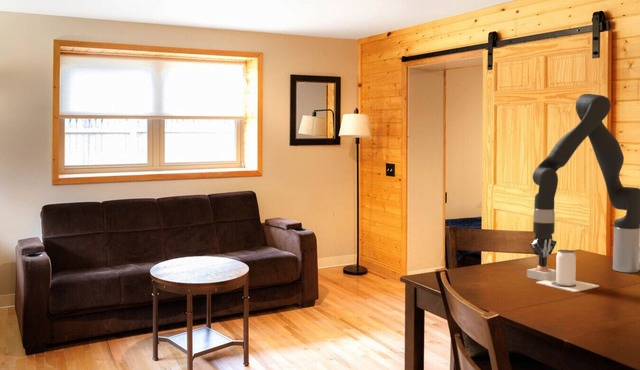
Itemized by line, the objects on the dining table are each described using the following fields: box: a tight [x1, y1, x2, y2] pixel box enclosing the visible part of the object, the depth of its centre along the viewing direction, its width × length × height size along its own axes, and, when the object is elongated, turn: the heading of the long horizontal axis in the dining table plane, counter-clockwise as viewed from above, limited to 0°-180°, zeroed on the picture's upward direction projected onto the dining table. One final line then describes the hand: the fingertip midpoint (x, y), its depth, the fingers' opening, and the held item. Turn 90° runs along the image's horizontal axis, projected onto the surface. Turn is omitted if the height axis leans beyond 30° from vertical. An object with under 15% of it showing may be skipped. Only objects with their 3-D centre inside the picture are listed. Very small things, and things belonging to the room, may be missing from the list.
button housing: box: [526, 267, 556, 281], centre depth 232 cm, size 8×8×3 cm
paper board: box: [535, 278, 600, 293], centre depth 221 cm, size 14×16×1 cm
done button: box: [536, 264, 550, 272], centre depth 232 cm, size 4×4×4 cm
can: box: [555, 249, 577, 286], centre depth 220 cm, size 6×6×12 cm
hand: (542, 266), depth 232 cm, fingers closed
